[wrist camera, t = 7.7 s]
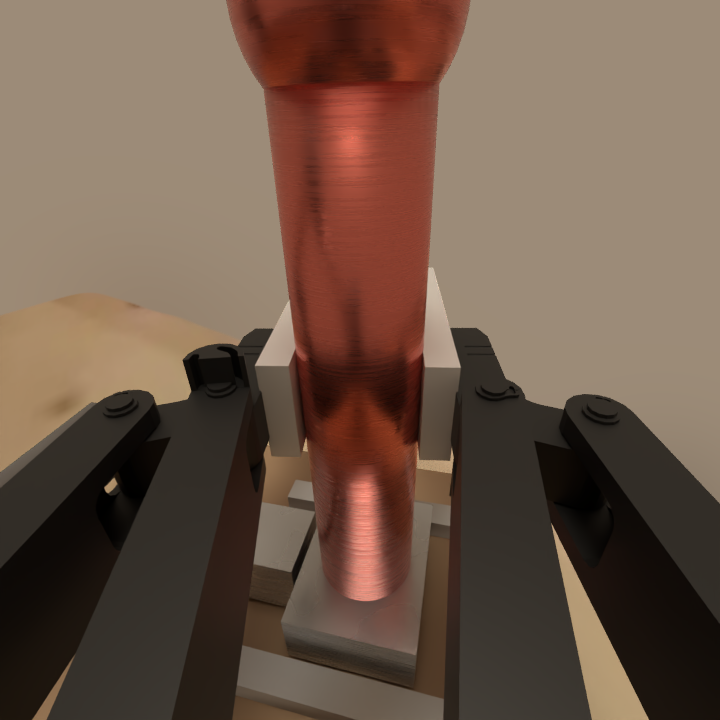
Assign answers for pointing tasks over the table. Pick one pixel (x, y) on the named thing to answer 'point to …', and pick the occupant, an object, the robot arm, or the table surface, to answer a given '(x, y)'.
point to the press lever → (353, 311)
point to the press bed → (311, 679)
